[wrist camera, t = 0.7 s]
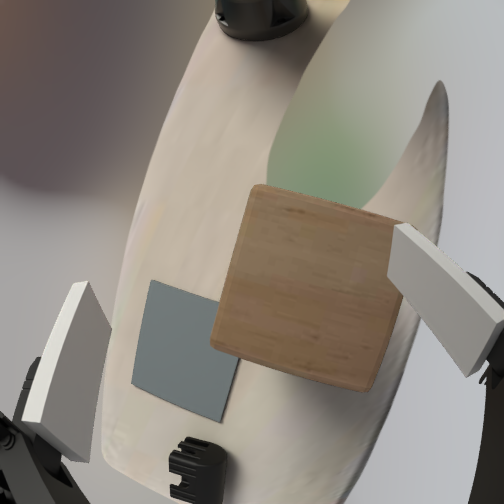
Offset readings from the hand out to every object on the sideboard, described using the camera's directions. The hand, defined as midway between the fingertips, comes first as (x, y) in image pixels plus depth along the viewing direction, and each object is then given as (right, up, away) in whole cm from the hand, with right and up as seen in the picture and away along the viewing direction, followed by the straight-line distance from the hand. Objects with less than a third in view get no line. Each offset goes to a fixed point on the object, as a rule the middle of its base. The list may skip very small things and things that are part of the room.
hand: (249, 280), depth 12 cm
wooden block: (+7, -2, +23) cm, 25 cm away
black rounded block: (-6, -30, +25) cm, 40 cm away
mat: (-9, -12, +26) cm, 30 cm away
